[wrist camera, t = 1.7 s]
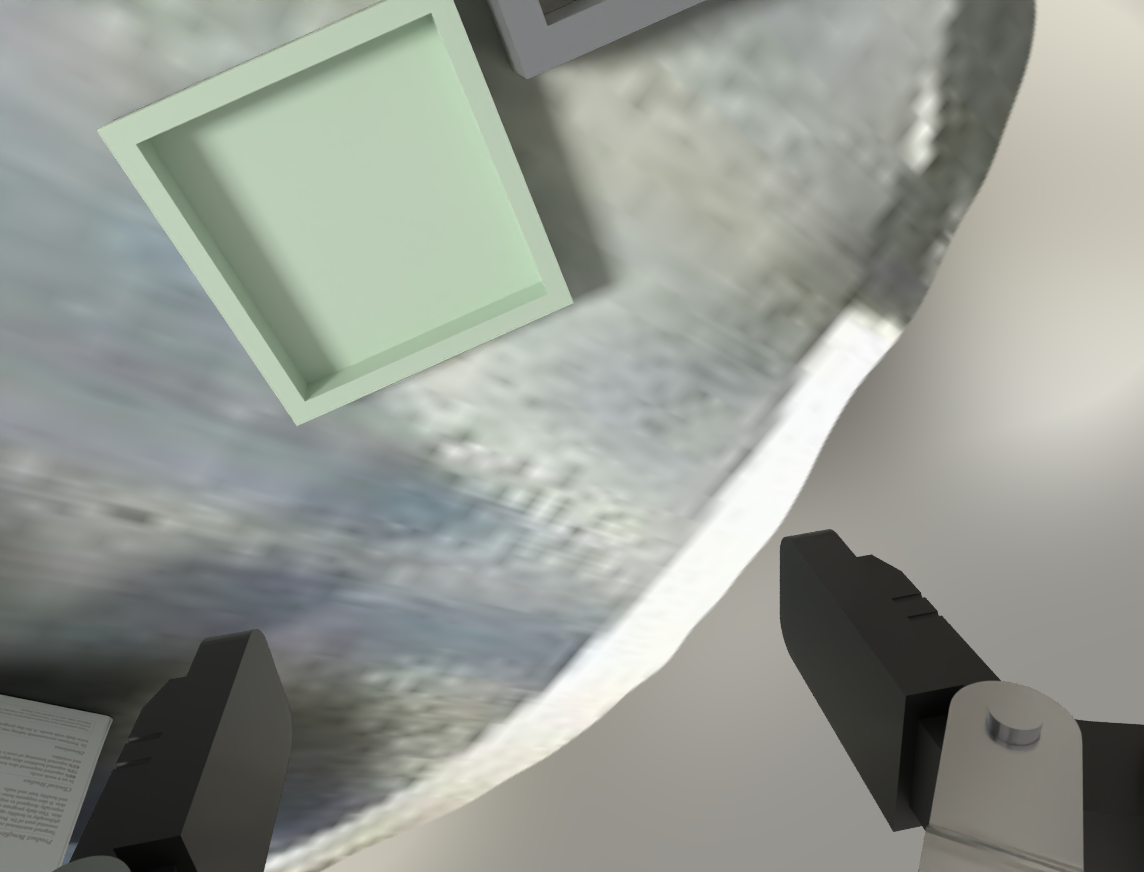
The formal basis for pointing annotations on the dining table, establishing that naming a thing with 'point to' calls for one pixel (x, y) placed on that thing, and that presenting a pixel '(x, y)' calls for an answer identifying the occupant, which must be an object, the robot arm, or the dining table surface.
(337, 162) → the tray
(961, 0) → the dining table surface
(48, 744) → the supplement box
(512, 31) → the cartridge dock
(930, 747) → the robot arm
